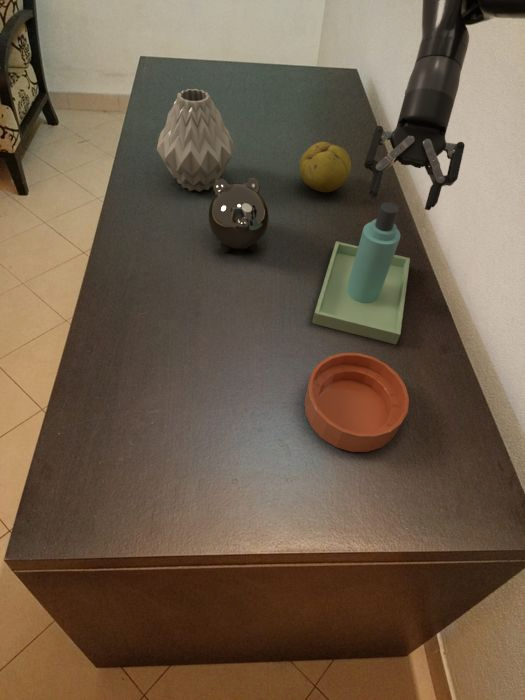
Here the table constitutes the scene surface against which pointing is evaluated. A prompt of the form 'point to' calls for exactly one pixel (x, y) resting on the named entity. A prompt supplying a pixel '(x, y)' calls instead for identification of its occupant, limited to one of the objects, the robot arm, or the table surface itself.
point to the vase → (195, 141)
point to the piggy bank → (238, 214)
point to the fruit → (325, 167)
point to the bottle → (374, 255)
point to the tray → (356, 316)
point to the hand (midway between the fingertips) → (400, 203)
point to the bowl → (355, 402)
